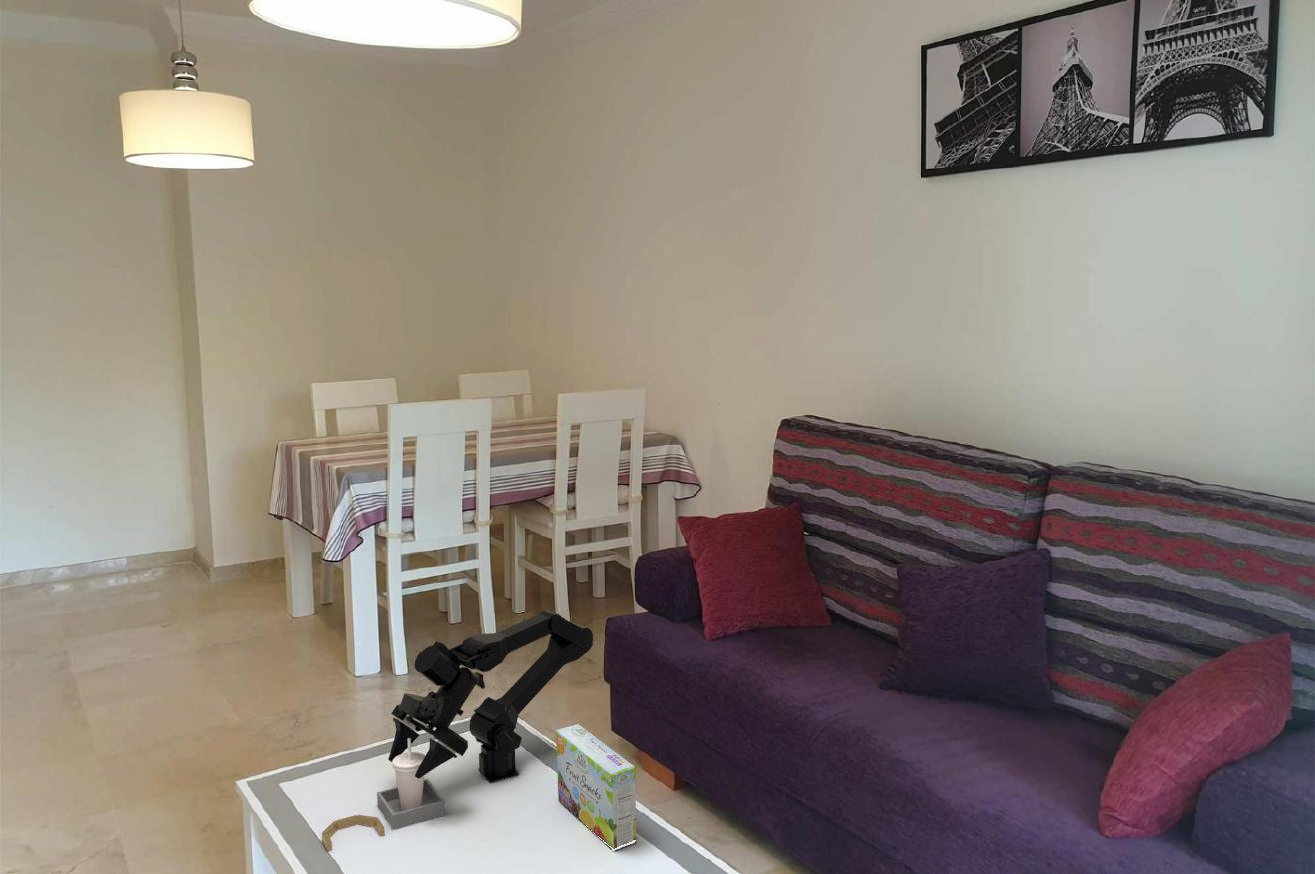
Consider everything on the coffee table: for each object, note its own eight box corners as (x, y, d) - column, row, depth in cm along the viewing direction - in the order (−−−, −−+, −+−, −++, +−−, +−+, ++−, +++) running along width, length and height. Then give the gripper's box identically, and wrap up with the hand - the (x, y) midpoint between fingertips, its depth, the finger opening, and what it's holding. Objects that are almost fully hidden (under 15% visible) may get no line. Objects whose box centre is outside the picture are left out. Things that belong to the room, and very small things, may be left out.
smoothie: (397, 818, 188) (394, 747, 186) (391, 803, 194) (387, 734, 192) (432, 810, 191) (429, 740, 189) (424, 795, 196) (421, 727, 194)
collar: (373, 817, 189) (373, 810, 189) (384, 834, 184) (384, 827, 183) (317, 832, 184) (317, 825, 184) (327, 851, 178) (327, 843, 178)
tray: (427, 792, 199) (427, 778, 199) (445, 814, 191) (445, 800, 190) (377, 805, 194) (376, 792, 193) (393, 829, 185) (392, 815, 185)
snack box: (555, 802, 195) (554, 728, 193) (580, 794, 199) (579, 721, 196) (612, 853, 178) (611, 773, 176) (638, 843, 181) (638, 764, 179)
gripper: (398, 663, 198) (349, 734, 191) (452, 690, 185) (402, 767, 178) (433, 690, 204) (387, 759, 198) (489, 718, 191) (441, 793, 185)
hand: (403, 769), depth 190 cm, fingers open, 9 cm apart
